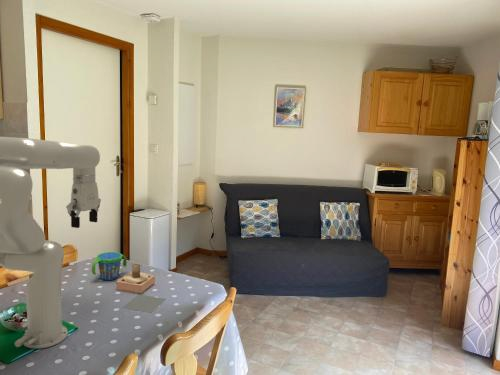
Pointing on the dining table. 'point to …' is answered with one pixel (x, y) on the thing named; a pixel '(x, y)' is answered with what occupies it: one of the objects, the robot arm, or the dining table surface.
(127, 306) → the mat
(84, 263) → the dining table surface
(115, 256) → the snack cup
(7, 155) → the robot arm
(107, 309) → the dining table surface
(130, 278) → the lid
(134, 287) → the dish
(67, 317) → the dining table surface
